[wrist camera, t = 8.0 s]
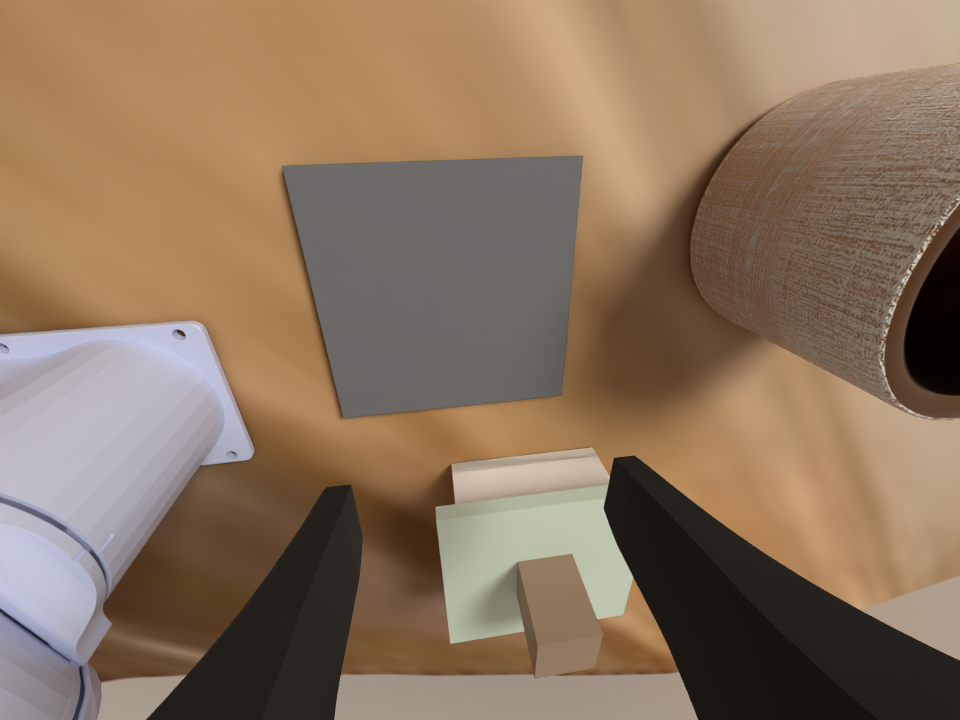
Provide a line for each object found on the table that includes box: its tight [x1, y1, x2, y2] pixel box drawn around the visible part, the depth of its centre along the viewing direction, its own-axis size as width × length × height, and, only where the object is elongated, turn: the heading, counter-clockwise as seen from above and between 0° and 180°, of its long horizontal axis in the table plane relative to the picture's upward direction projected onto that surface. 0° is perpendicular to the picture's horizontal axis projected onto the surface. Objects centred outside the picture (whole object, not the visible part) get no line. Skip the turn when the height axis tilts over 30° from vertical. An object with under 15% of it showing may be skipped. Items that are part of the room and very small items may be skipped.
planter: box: [690, 63, 960, 420], centre depth 15 cm, size 11×11×10 cm
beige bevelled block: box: [451, 447, 610, 504], centre depth 24 cm, size 9×9×4 cm
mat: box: [282, 156, 583, 418], centre depth 19 cm, size 12×12×1 cm
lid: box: [436, 485, 633, 678], centre depth 20 cm, size 11×11×5 cm
